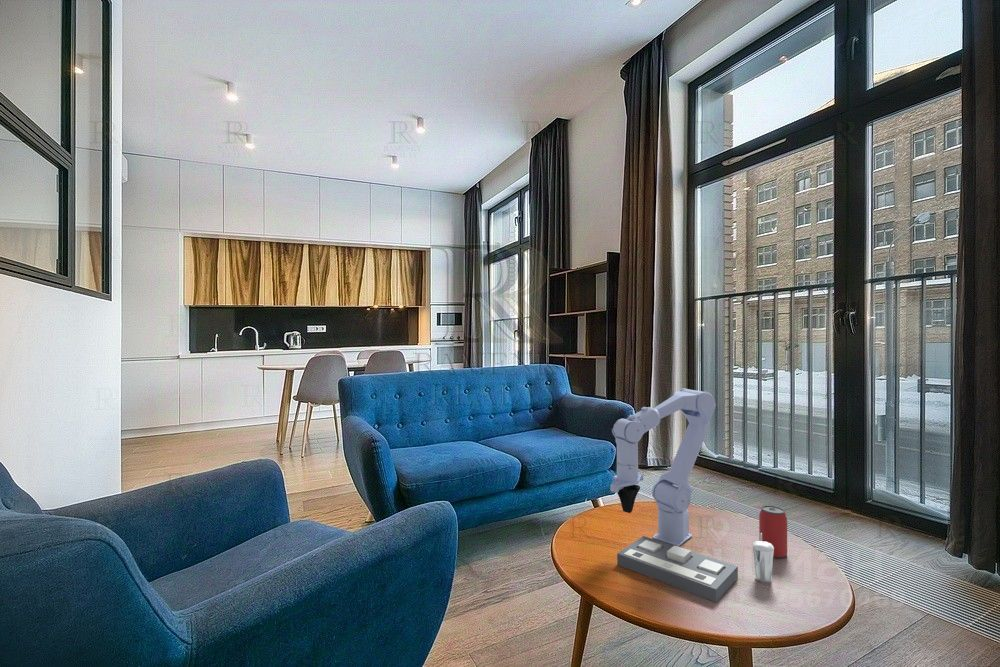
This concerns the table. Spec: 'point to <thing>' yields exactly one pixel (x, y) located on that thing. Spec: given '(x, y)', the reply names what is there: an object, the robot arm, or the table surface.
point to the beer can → (774, 529)
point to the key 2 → (711, 567)
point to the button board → (678, 570)
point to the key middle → (679, 554)
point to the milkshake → (763, 560)
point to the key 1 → (650, 546)
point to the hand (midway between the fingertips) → (627, 511)
